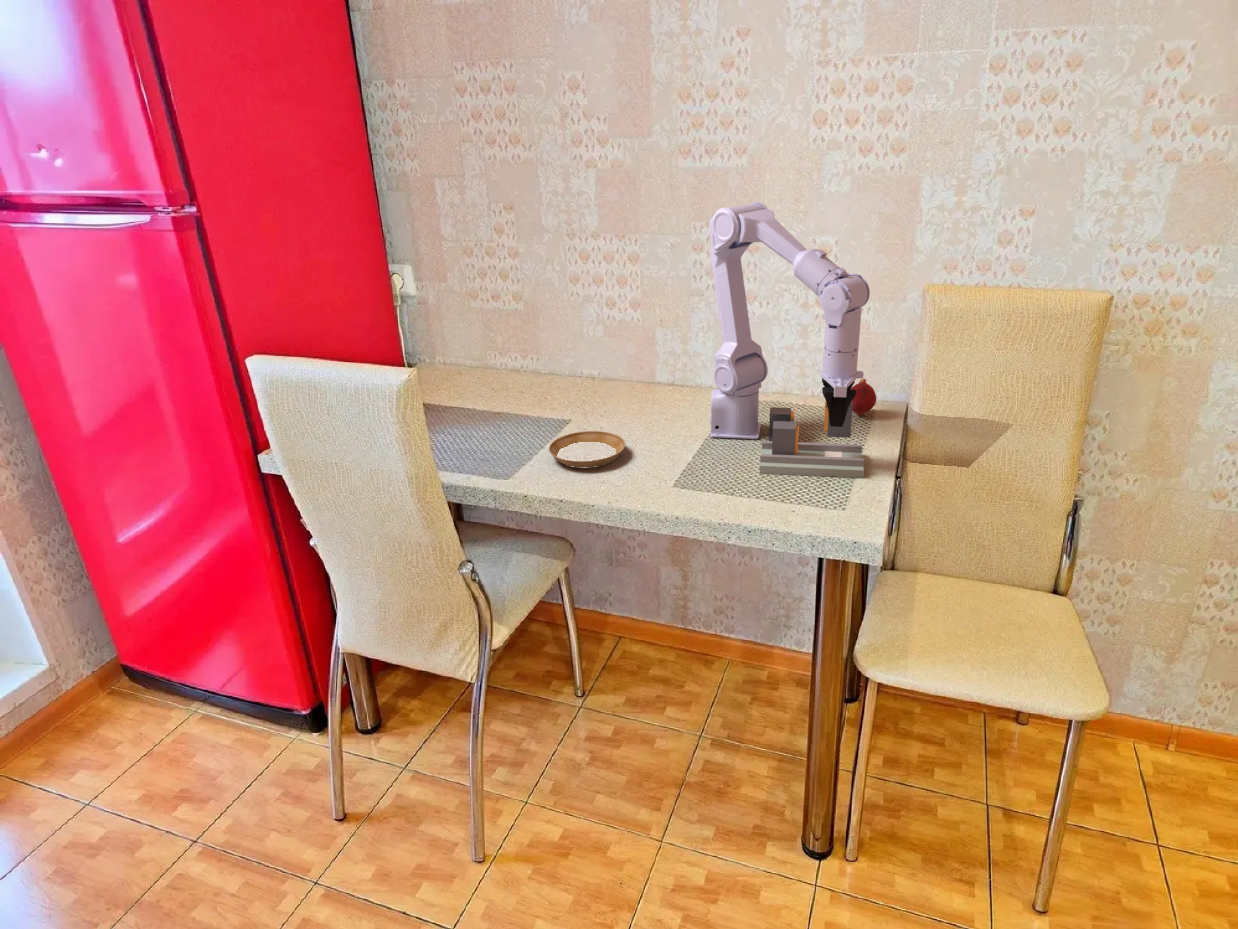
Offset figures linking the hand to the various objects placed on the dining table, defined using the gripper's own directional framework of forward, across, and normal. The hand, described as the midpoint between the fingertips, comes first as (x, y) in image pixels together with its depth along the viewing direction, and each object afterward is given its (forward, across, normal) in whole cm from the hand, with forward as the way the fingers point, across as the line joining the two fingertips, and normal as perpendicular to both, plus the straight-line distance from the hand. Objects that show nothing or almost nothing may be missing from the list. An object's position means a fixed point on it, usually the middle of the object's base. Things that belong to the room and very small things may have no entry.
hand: (836, 421), depth 147 cm
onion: (+9, +25, -6) cm, 27 cm away
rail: (+8, 0, +4) cm, 9 cm away
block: (+9, +11, +10) cm, 17 cm away
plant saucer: (+9, -1, +46) cm, 47 cm away
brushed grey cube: (+2, 0, 0) cm, 2 cm away
